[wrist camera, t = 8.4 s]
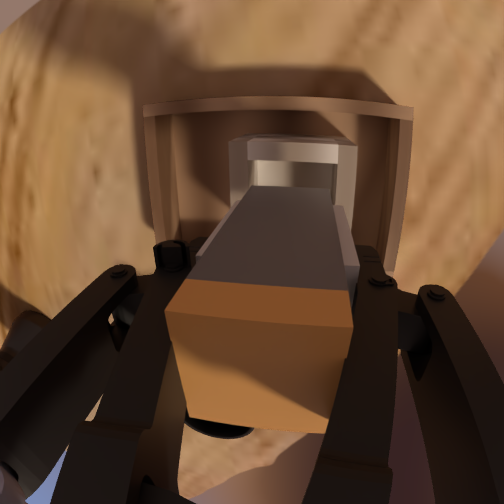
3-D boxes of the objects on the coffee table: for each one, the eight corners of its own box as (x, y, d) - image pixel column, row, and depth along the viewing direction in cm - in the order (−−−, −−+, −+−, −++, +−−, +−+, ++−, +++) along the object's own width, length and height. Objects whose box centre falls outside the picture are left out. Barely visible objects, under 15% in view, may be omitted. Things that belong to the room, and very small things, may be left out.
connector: (252, 254, 18) (189, 417, 9) (251, 185, 17) (164, 310, 7) (324, 259, 18) (326, 433, 8) (329, 188, 16) (353, 327, 6)
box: (175, 247, 32) (145, 283, 25) (164, 103, 25) (122, 106, 19) (382, 260, 28) (399, 302, 22) (398, 106, 22) (427, 107, 16)
